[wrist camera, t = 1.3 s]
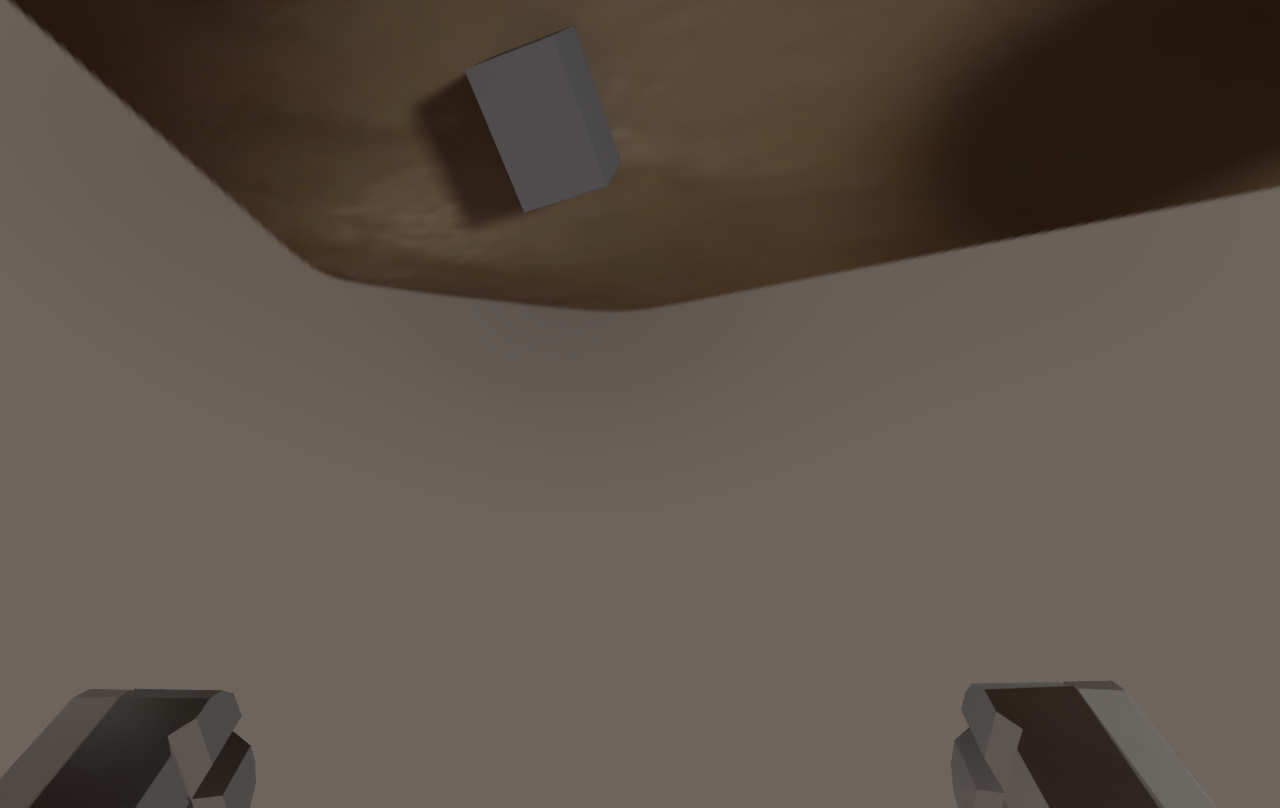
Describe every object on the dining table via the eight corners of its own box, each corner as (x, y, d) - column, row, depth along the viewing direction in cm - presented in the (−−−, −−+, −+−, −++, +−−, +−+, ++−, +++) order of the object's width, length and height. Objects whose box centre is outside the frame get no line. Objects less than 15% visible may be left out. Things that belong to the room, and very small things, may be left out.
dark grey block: (573, 25, 38) (552, 35, 34) (621, 160, 42) (607, 185, 37) (494, 56, 40) (464, 69, 35) (546, 185, 43) (524, 212, 39)
